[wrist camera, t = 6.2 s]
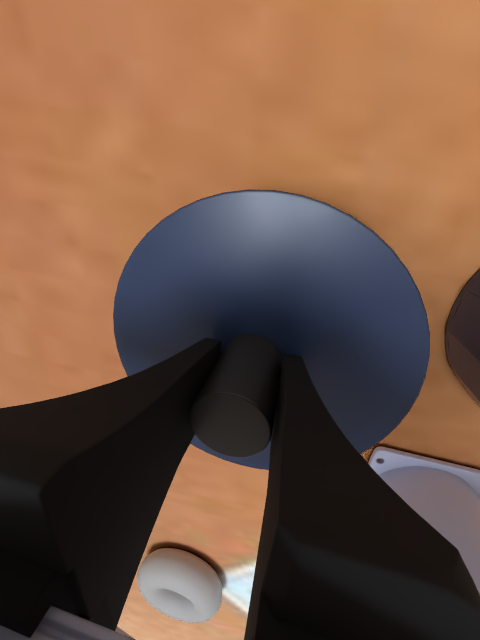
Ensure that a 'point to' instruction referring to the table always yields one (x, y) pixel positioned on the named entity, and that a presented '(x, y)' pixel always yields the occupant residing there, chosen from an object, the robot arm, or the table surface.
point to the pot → (466, 337)
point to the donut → (180, 585)
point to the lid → (275, 316)
